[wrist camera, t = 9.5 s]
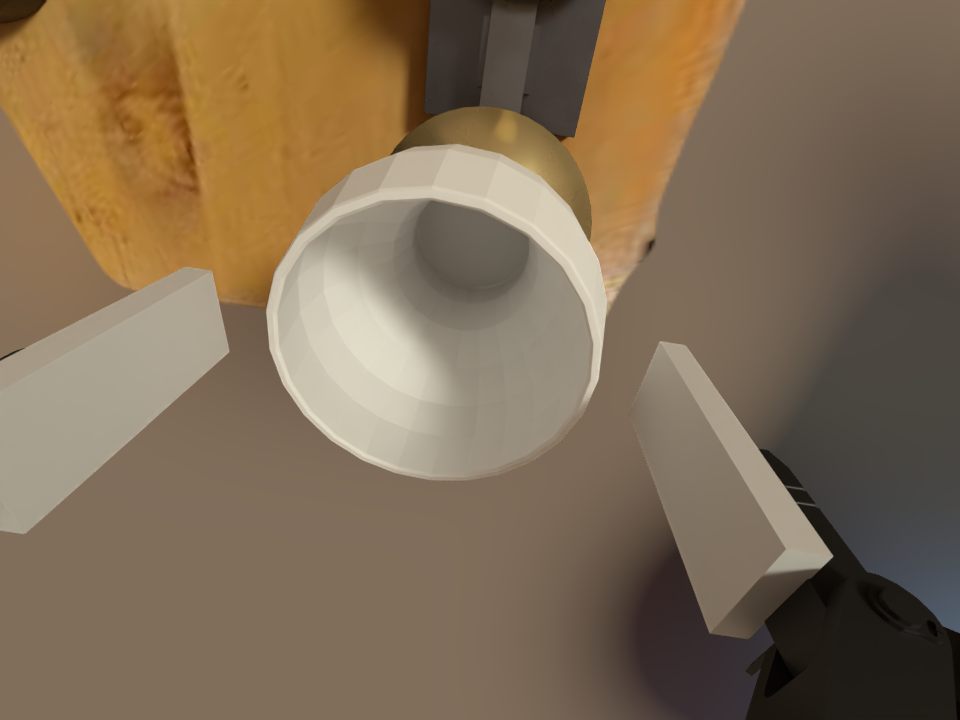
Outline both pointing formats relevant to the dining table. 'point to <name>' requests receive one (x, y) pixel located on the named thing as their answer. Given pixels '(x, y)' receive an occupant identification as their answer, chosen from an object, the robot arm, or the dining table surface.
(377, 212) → the cup
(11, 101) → the dining table surface
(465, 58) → the balance
